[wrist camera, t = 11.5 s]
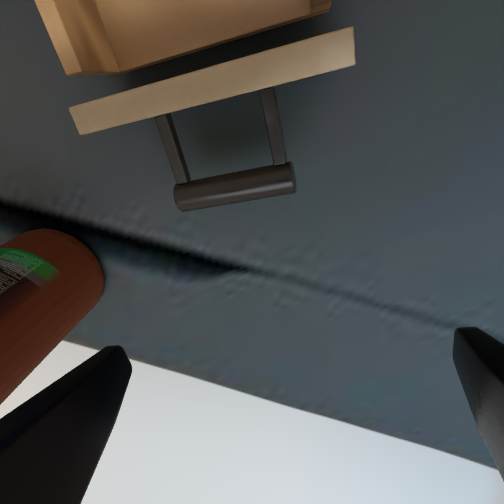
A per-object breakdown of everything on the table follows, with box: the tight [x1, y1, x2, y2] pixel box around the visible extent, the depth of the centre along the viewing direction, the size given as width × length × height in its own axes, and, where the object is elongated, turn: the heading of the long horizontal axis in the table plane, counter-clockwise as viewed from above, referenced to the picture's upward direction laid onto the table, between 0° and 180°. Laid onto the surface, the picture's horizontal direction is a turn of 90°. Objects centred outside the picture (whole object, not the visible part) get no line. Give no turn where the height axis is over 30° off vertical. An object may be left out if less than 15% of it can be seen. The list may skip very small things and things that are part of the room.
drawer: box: [34, 0, 356, 212], centre depth 13 cm, size 17×12×4 cm
